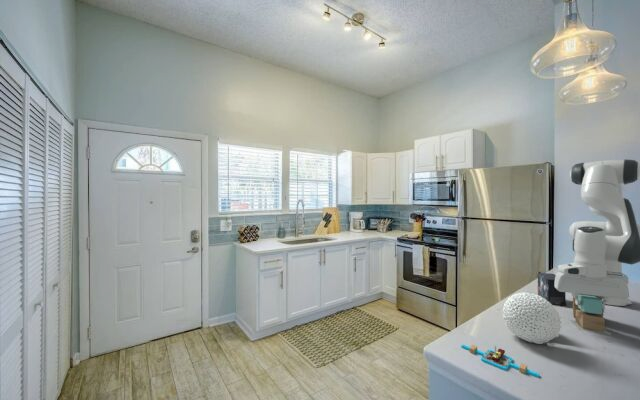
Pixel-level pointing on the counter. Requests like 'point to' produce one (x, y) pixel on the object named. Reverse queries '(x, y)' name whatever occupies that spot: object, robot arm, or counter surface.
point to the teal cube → (590, 304)
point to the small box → (550, 289)
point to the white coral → (531, 317)
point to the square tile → (589, 330)
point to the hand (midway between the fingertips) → (589, 306)
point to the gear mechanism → (499, 359)
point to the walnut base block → (590, 321)
